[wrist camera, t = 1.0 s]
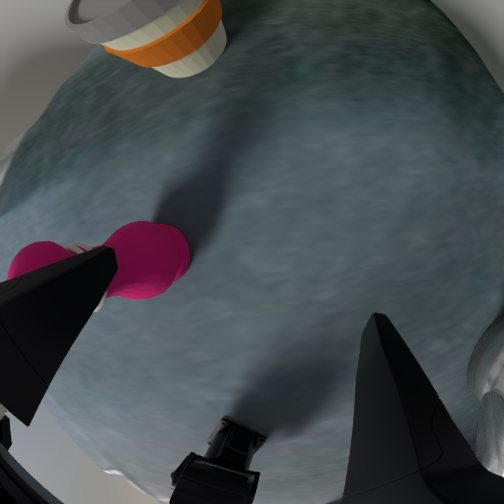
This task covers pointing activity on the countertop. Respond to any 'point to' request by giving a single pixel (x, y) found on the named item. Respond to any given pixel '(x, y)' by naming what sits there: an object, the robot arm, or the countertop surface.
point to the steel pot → (488, 361)
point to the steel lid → (491, 432)
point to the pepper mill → (122, 259)
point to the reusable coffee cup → (153, 31)
